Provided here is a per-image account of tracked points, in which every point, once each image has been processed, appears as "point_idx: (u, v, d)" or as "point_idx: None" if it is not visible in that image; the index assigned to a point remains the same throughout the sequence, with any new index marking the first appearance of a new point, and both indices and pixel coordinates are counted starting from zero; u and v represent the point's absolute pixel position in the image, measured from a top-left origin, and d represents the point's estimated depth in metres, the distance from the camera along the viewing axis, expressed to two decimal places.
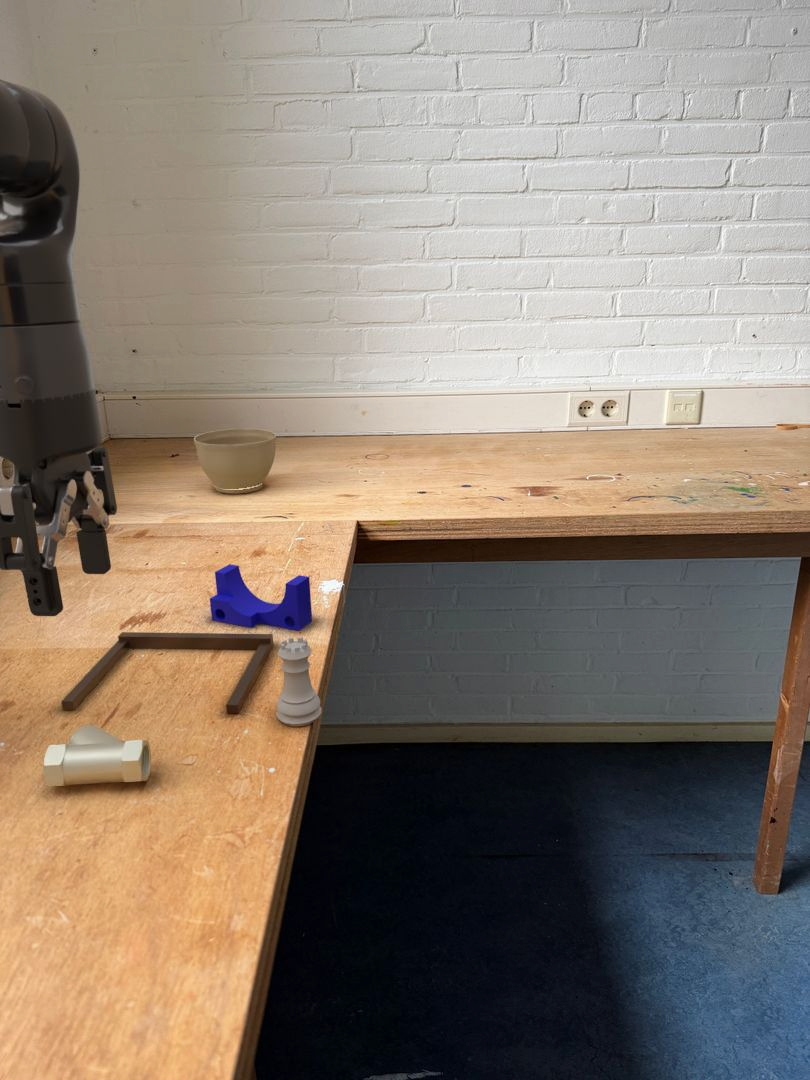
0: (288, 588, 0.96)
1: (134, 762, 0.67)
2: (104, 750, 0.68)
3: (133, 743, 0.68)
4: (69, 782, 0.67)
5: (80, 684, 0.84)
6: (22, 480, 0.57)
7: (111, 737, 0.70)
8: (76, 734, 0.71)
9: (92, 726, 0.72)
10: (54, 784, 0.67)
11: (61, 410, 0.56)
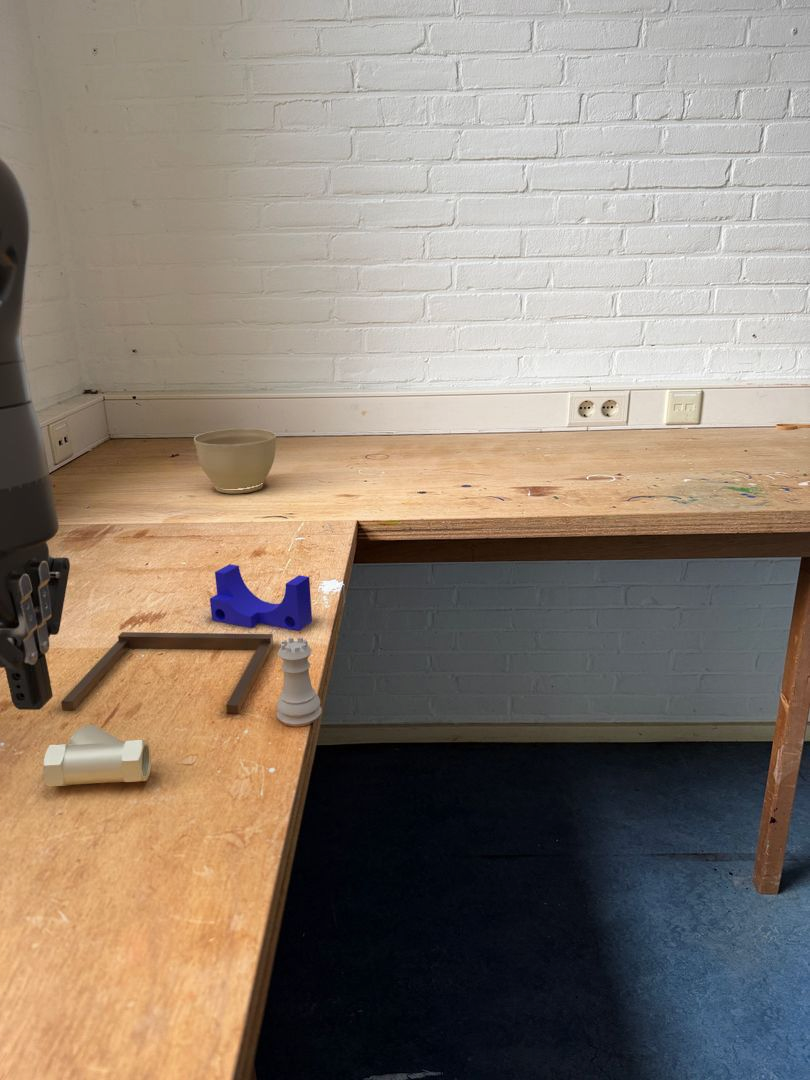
0: (288, 588, 0.96)
1: (134, 762, 0.67)
2: (104, 750, 0.68)
3: (133, 743, 0.68)
4: (69, 782, 0.67)
5: (80, 684, 0.84)
6: None
7: (111, 737, 0.70)
8: (76, 734, 0.71)
9: (92, 726, 0.72)
10: (54, 784, 0.67)
11: (8, 502, 0.51)
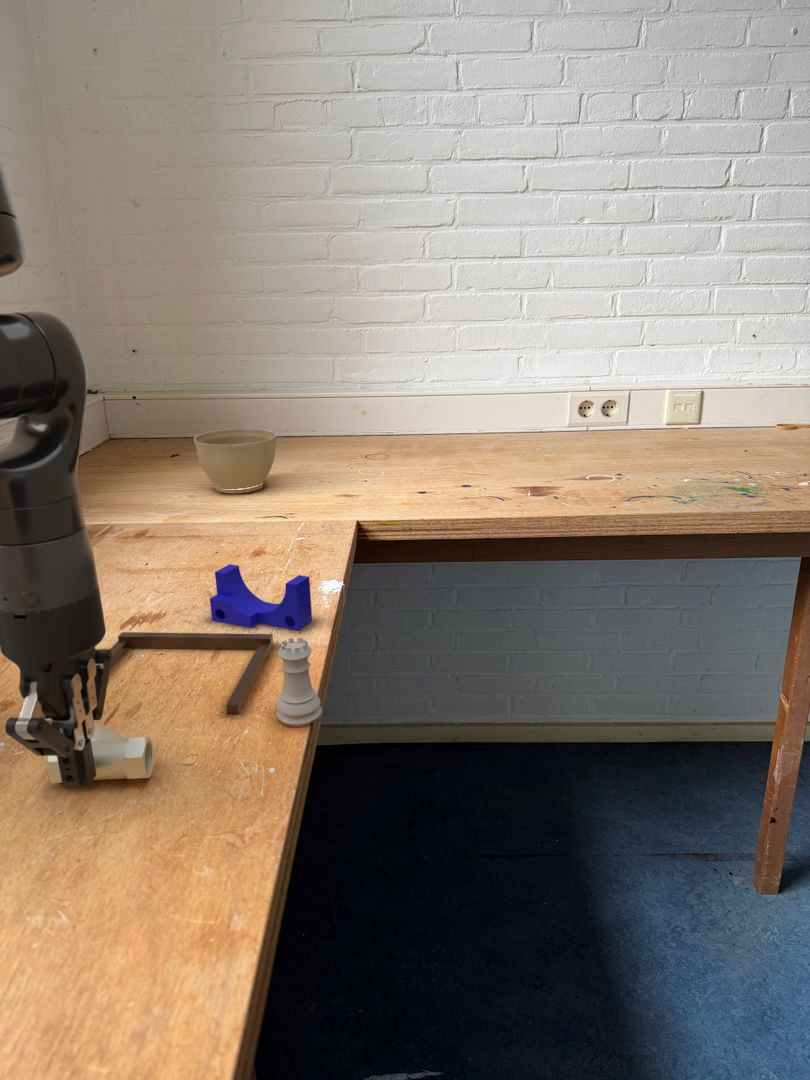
0: (288, 588, 0.96)
1: (137, 759, 0.67)
2: (107, 747, 0.68)
3: (136, 740, 0.68)
4: None
5: None
6: (27, 690, 0.59)
7: (114, 734, 0.70)
8: None
9: (96, 723, 0.72)
10: (58, 780, 0.67)
11: (65, 617, 0.58)
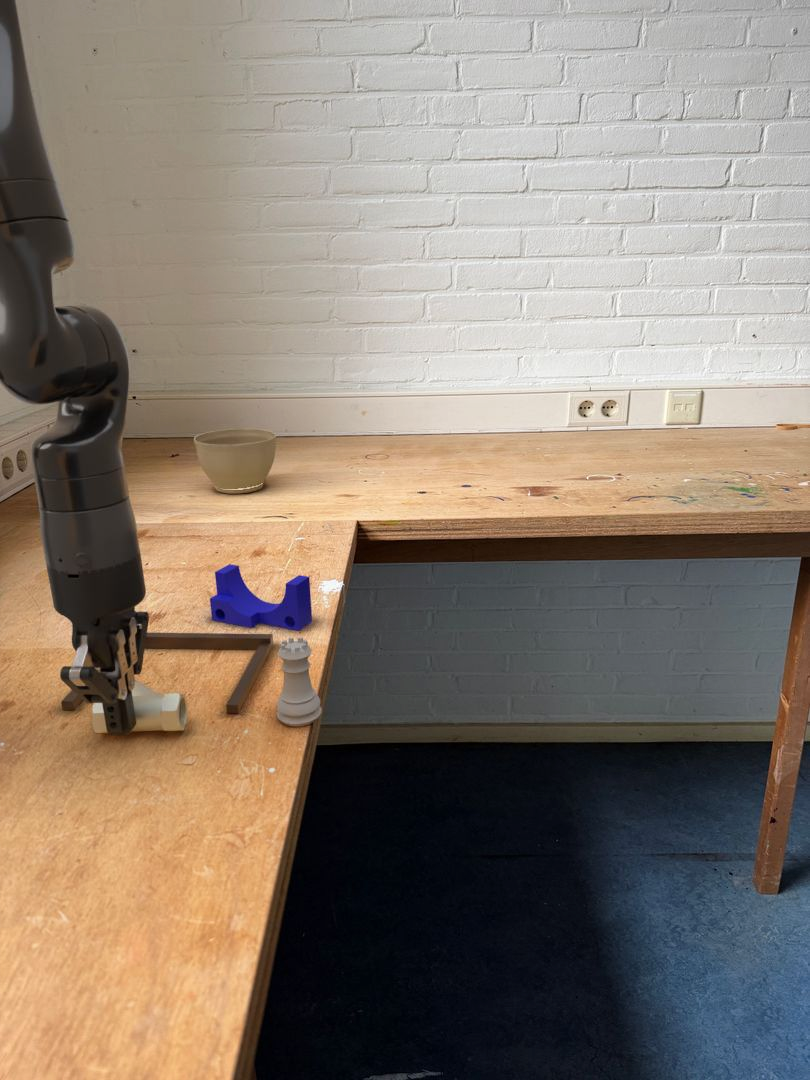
0: (288, 588, 0.96)
1: (172, 712, 0.74)
2: (146, 701, 0.75)
3: (171, 696, 0.75)
4: None
5: None
6: (79, 643, 0.66)
7: (152, 691, 0.77)
8: None
9: (135, 681, 0.79)
10: (101, 730, 0.75)
11: (112, 577, 0.65)
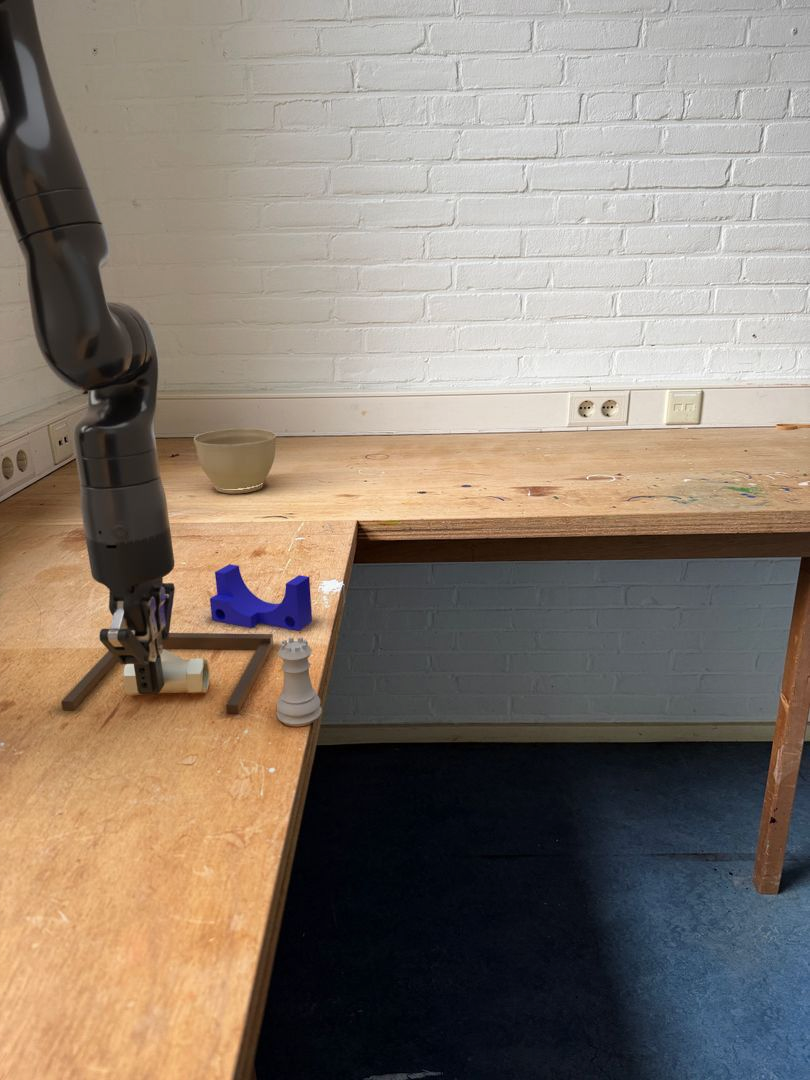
0: (288, 588, 0.96)
1: (196, 675, 0.81)
2: (172, 665, 0.82)
3: (196, 660, 0.82)
4: None
5: (80, 684, 0.84)
6: (115, 608, 0.73)
7: (177, 657, 0.84)
8: None
9: None
10: (131, 692, 0.81)
11: (146, 548, 0.72)
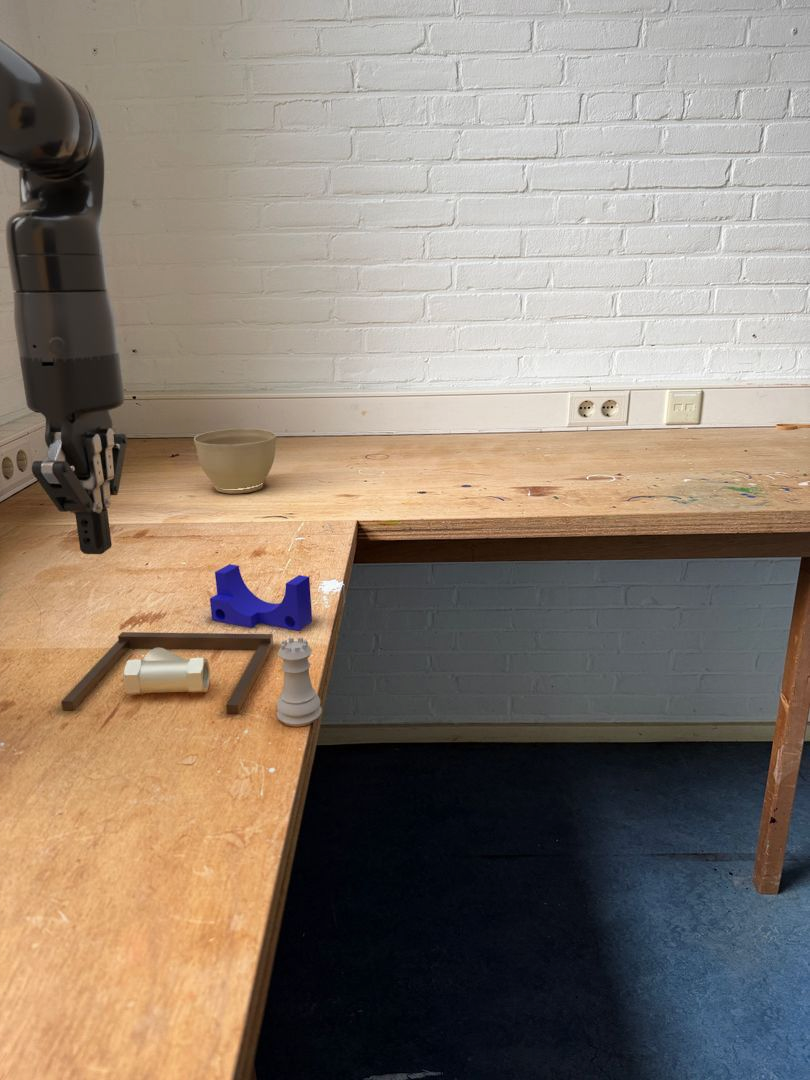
0: (288, 588, 0.96)
1: (197, 674, 0.81)
2: (172, 665, 0.82)
3: (196, 660, 0.82)
4: (144, 690, 0.82)
5: (80, 684, 0.84)
6: (52, 439, 0.63)
7: (177, 656, 0.84)
8: (148, 654, 0.86)
9: (161, 648, 0.86)
10: (132, 691, 0.81)
11: (89, 369, 0.62)
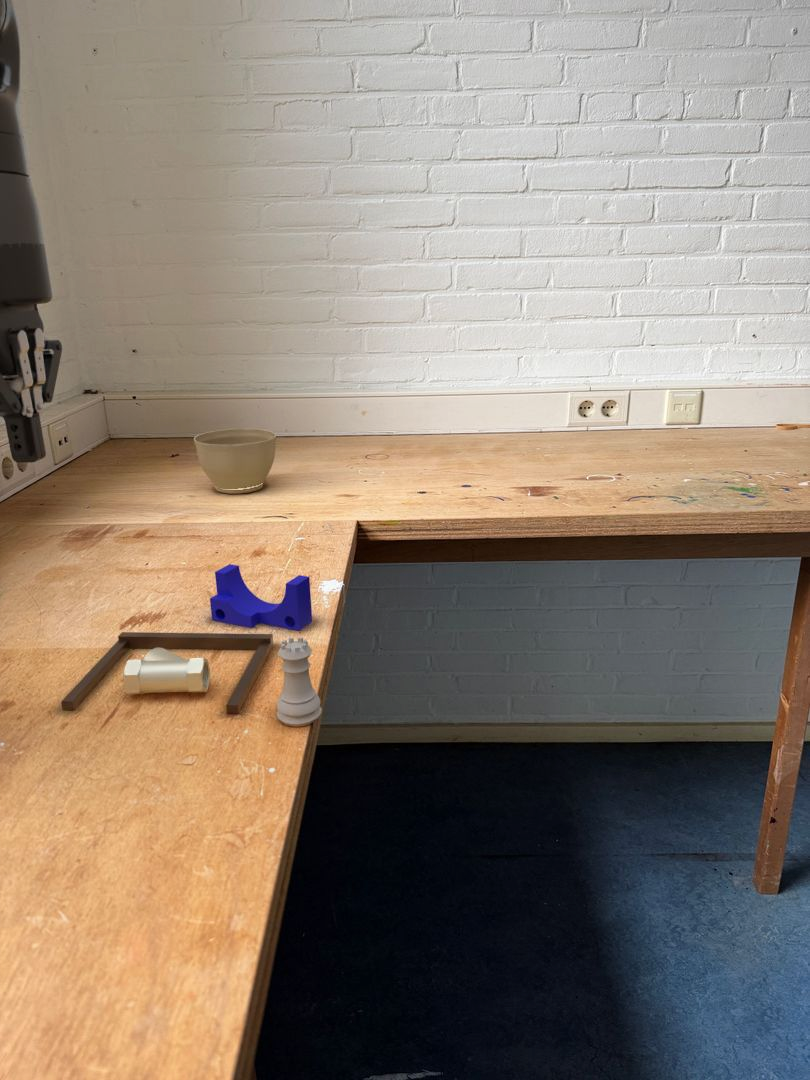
0: (288, 588, 0.96)
1: (197, 674, 0.81)
2: (172, 665, 0.82)
3: (196, 660, 0.82)
4: (144, 690, 0.82)
5: (80, 684, 0.84)
6: None
7: (177, 656, 0.84)
8: (148, 654, 0.86)
9: (161, 648, 0.86)
10: (132, 691, 0.81)
11: (9, 257, 0.59)
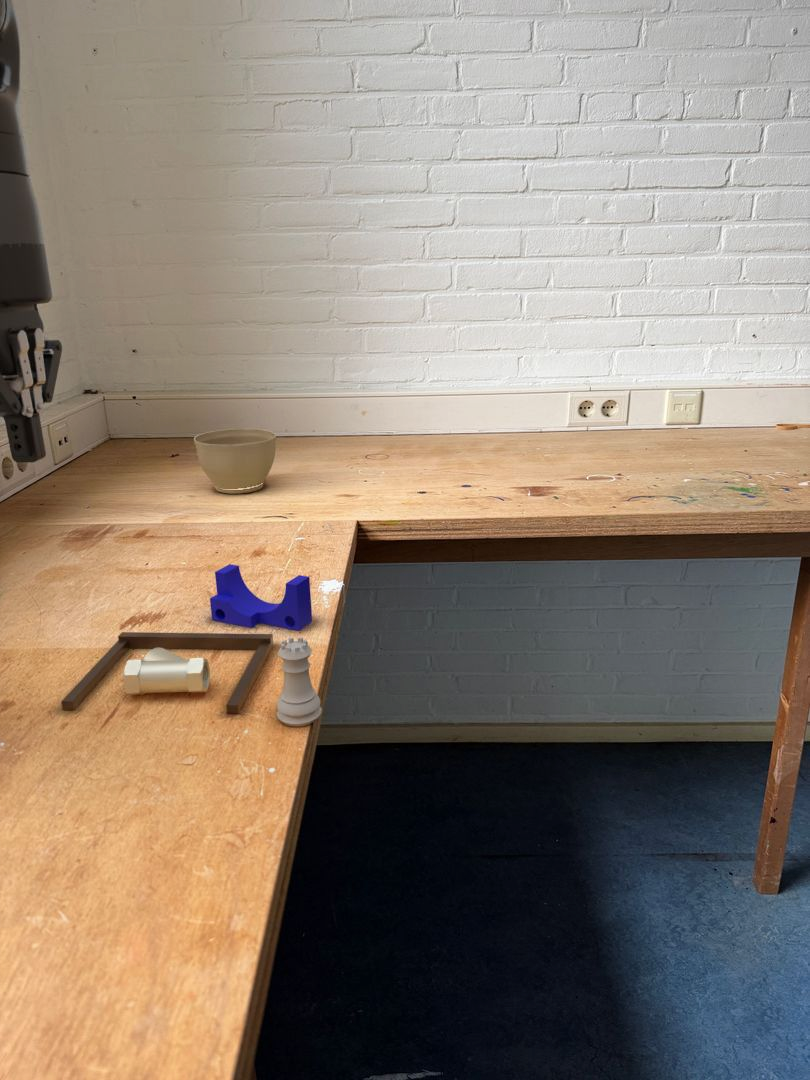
0: (288, 588, 0.96)
1: (197, 674, 0.81)
2: (172, 665, 0.82)
3: (196, 660, 0.82)
4: (144, 690, 0.82)
5: (80, 684, 0.84)
6: None
7: (177, 656, 0.84)
8: (148, 654, 0.86)
9: (161, 648, 0.86)
10: (132, 691, 0.81)
11: (9, 257, 0.59)
